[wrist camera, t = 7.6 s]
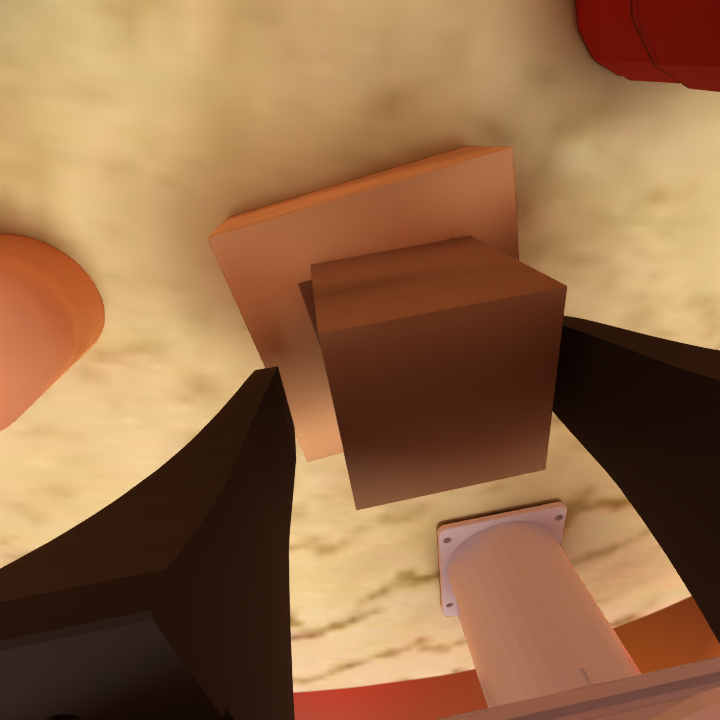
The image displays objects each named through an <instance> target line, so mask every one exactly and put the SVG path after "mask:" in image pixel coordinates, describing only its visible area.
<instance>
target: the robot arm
mask: <svg viewBox="0 0 720 720" xmlns="http://www.w3.org/2000/svg"><path fill="white" fill-rule="evenodd" d="M552 411H553V412H554V413H555V415H556V416H557V417H558V418H559V419H560V420H561V421H562V423H563V424H564V425H565V426H566V427H567V428H568V429H569V431H570V432H571V433H572V434H573V435H574V436H575V437H576V438H577V439H578V441H579V442H580V443H581V444H582V445H583V446H584V447H585V448H586V449H587V451H588V452H589V453H590V454H591V455H592V456H593V457H594V458H595V459H596V461H597V462H598V463H599V464H600V465H601V466H602V467H603V468H604V469H605V471H606V472H607V473H608V474H609V475H610V477H611V478H612V479H613V480H614V481H615V483H616V484H617V485H618V486H619V488H620V489H621V490H622V492H623V493H624V495H625V496H626V497H627V499H628V500H629V502H630V503H631V504H632V506H633V507H634V508H635V510H636V511H637V513H638V514H639V515H640V517H641V518H642V520H643V521H644V522H645V524H646V525H647V527H648V528H649V530H650V531H651V533H652V534H653V536H654V537H655V539H656V540H657V542H658V543H659V545H660V546H661V548H662V549H663V551H664V552H665V554H666V555H667V557H668V558H669V560H670V561H671V563H672V565H673V566H674V568H675V569H676V571H677V573H678V574H679V576H680V577H681V579H682V581H683V582H684V584H685V585H686V587H687V589H688V590H689V592H690V593H691V595H692V597H693V598H694V600H695V601H696V603H697V605H698V607H699V608H700V610H701V612H702V613H703V615H704V617H705V619H706V620H707V622H708V624H709V626H710V627H711V629H712V631H713V633H714V634H715V636H716V638H717V640H718V641H719V643H720V351H719V350H714V349H708V348H703V347H698V346H693V345H689V344H684V343H679V342H675V341H670V340H666V339H662V338H657V337H653V336H649V335H645V334H641V333H637V332H633V331H629V330H625V329H621V328H618V327H614V326H610V325H606V324H602V323H598V322H594V321H589V320H585V319H580V318H575V317H569V316H563V325H562V333H561V341H560V350H559V358H558V367H557V375H556V383H555V392H554V400H553V409H552ZM295 466H296V444H295V427H294V423H293V419H292V416H291V412H290V408H289V405H288V401H287V397H286V394H285V390H284V386H283V383H282V379H281V375H280V372H279V368H278V366H276V367H271V368H265V369H260V370H255V371H254V372H253V373H252V374H251V375H250V376H249V378H248V379H247V380H246V381H245V382H244V384H243V385H242V386H241V387H240V388H239V390H238V391H237V392H236V393H235V394H234V395H233V397H232V398H231V399H230V400H229V401H228V402H227V404H226V405H225V406H224V407H223V408H222V409H221V410H220V412H219V413H218V414H217V415H216V416H215V417H214V418H213V419H212V420H211V421H210V422H209V423H208V424H207V425H206V426H205V427H204V428H203V429H202V430H201V431H200V432H199V433H198V434H197V435H196V436H195V437H194V438H193V439H192V440H191V441H190V442H189V443H188V444H187V445H186V446H185V447H184V448H183V449H181V450H180V451H179V452H178V453H177V454H176V455H174V456H173V457H172V458H171V459H170V460H169V461H167V462H166V463H165V464H164V465H163V466H161V467H160V468H159V469H158V470H156V471H155V472H154V473H152V474H151V475H150V476H148V477H147V478H146V479H144V480H143V481H142V482H140V483H139V484H137V485H136V486H135V487H133V488H132V489H131V490H129V491H128V492H127V493H125V494H124V495H123V496H121V497H120V498H118V499H117V500H115V501H114V502H113V503H111V504H109V505H108V506H106V507H105V508H103V509H102V510H100V511H99V512H97V513H96V514H94V515H93V516H91V517H90V518H88V519H86V520H85V521H83V522H81V523H80V524H78V525H77V526H75V527H73V528H72V529H70V530H68V531H67V532H65V533H64V534H62V535H60V536H58V537H57V538H55V539H53V540H52V541H50V542H48V543H46V544H45V545H43V546H41V547H39V548H37V549H35V550H34V551H32V552H30V553H28V554H26V555H24V556H23V557H21V558H19V559H17V560H15V561H14V562H12V563H10V564H8V565H6V566H4V567H3V568H1V569H0V720H295V719H294V701H293V680H292V656H291V631H290V595H289V536H290V523H291V512H292V501H293V490H294V478H295ZM566 513H567V508H566V506H565V505H564V504H563V503H562V502H555V503H550V504H545V505H540V506H535V507H530V508H525V509H520V510H515V511H510V512H505V513H500V514H495V515H490V516H485V517H480V518H475V519H470V520H465V521H460V522H455V523H450V524H445V525H442V526H441V527H439V529H438V531H437V535H438V553H439V571H440V589H441V607H442V612H443V615H444V616H446V617H450V616H455V615H458V616H459V620H460V623H461V626H462V629H463V632H464V635H465V638H466V641H467V644H468V647H469V650H470V653H471V656H472V659H473V662H474V665H475V668H476V671H477V674H478V677H479V680H480V684H481V686H482V689H483V693H484V695H485V699H486V702H487V704H488V709H483V710H479V711H475V712H469V713H465V714H460V715H456V716H451V717H447V718H442V719H438V720H720V657H716V658H712V659H707V660H703V661H698V662H694V663H690V664H686V665H681V666H676V667H672V668H667V669H663V670H658V671H654V672H649V673H645V674H641V673H640V671H639V670H638V668H637V666H636V665H635V663H634V662H633V660H632V658H631V657H630V655H629V654H628V652H627V651H626V649H625V647H624V646H623V644H622V643H621V642H620V640H619V638H618V637H617V635H616V633H615V632H614V630H613V629H612V627H611V625H610V624H609V622H608V621H607V619H606V618H605V616H604V615H603V613H602V611H601V610H600V608H599V607H598V605H597V604H596V602H595V600H594V599H593V597H592V596H591V594H590V593H589V591H588V589H587V588H586V586H585V585H584V583H583V582H582V580H581V578H580V577H579V575H578V574H577V572H576V571H575V569H574V567H573V566H572V564H571V563H570V561H569V560H568V558H567V556H566V555H565V553H564V552H563V550H562V549H561V547H560V546H561V540H562V535H563V530H564V524H565V519H566Z"/></svg>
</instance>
